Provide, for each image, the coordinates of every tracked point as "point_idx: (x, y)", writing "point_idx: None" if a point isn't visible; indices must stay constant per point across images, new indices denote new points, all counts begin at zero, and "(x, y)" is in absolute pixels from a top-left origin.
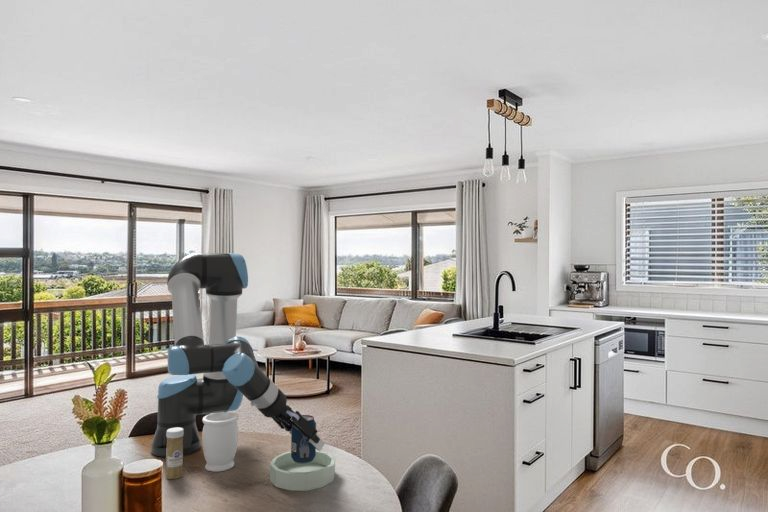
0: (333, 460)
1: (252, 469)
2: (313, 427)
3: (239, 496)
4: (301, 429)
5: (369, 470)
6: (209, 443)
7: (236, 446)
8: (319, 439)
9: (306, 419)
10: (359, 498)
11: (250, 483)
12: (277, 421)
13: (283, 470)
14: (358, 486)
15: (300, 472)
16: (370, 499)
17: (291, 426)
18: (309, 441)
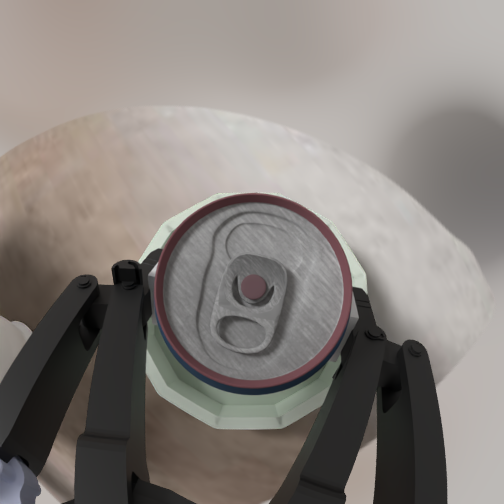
0: (340, 242)
1: None
2: (434, 387)
3: (183, 490)
4: (378, 465)
5: (376, 176)
6: None
7: (6, 341)
8: (363, 294)
9: (275, 275)
10: (450, 330)
11: None
12: (73, 390)
13: (242, 418)
14: (417, 275)
15: (311, 400)
16: (466, 317)
17: (145, 303)
18: None
